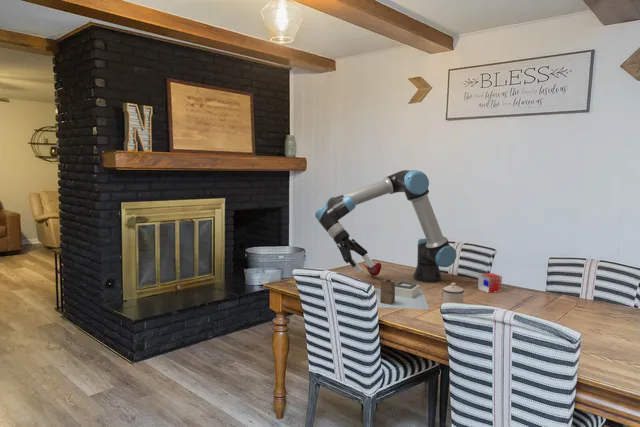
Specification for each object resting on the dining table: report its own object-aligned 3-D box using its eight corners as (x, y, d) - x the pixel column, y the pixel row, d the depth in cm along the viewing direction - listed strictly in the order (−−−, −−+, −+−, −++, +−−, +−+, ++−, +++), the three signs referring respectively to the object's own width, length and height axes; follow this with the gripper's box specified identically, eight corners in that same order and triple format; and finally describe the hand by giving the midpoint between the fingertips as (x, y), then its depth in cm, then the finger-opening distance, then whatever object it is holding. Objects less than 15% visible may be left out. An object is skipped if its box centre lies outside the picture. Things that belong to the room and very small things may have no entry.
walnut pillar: (384, 300, 219) (385, 277, 217) (394, 301, 216) (395, 279, 215) (380, 302, 214) (380, 279, 213) (390, 304, 212) (391, 281, 211)
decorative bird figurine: (379, 281, 256) (379, 263, 255) (360, 274, 271) (360, 257, 270) (383, 280, 258) (383, 263, 256) (364, 274, 273) (365, 257, 272)
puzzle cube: (501, 291, 238) (501, 276, 237) (488, 292, 235) (489, 277, 234) (490, 287, 245) (491, 272, 245) (478, 288, 243) (478, 273, 242)
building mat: (421, 291, 237) (421, 289, 237) (429, 311, 205) (429, 309, 205) (373, 289, 240) (374, 288, 239) (374, 308, 208) (374, 307, 208)
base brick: (398, 289, 237) (398, 279, 236) (419, 293, 231) (419, 282, 230) (390, 295, 227) (390, 284, 227) (411, 298, 222) (412, 287, 221)
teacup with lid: (467, 310, 207) (468, 284, 205) (451, 313, 203) (452, 286, 202) (449, 303, 218) (450, 278, 216) (433, 305, 214) (434, 280, 213)
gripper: (346, 236, 237) (372, 268, 231) (320, 242, 216) (349, 279, 210) (355, 226, 234) (382, 259, 228) (330, 232, 213) (359, 268, 207)
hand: (366, 268), depth 219 cm, fingers open, 13 cm apart
